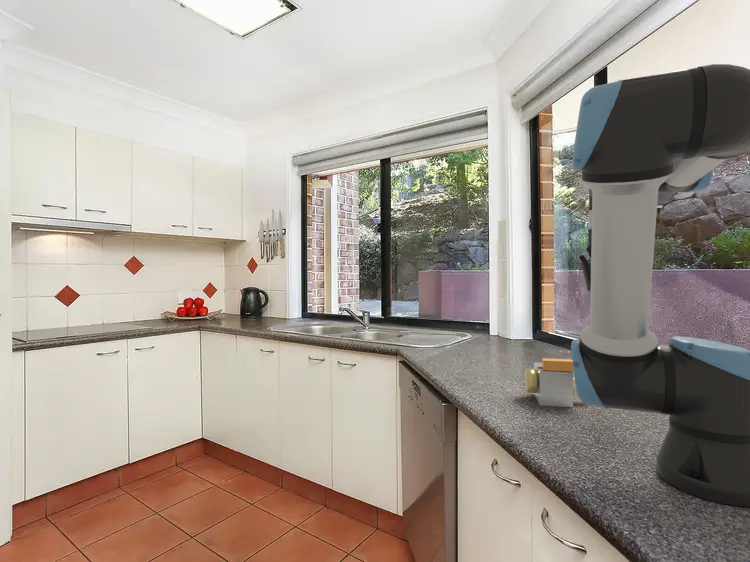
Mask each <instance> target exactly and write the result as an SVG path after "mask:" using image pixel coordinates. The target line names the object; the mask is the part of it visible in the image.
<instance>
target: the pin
mask: <svg viewBox="0 0 750 562" xmlns="http://www.w3.org/2000/svg"><path fill="white" fill-rule="evenodd" d="M524 387H525V393H527V394H534V393H537V388H538V376H537V372H536V369H534V368H525V370H524ZM574 389H575V390H576V385H575V379H574V377H573V390H574Z"/></svg>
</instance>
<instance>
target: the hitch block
mask: <svg viewBox="0 0 750 562" xmlns="http://www.w3.org/2000/svg"><path fill="white" fill-rule="evenodd" d="M533 369H536V372H537V376H538V388H537V393H533V395H534V398H535V399H536V401H537V403H538V404H539V406H545V407H559V408H560V407H564V408H574V389H573V373H574V372H572V371H550V370H543V368H542V362H537V361H536V362H533Z"/></svg>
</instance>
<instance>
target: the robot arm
mask: <svg viewBox="0 0 750 562" xmlns="http://www.w3.org/2000/svg"><path fill="white" fill-rule="evenodd" d="M574 137H575V139H574V145H573V146H574V148H573V155H572V161H571V169H572V170H573V171H576V172H581V182H582V183H583V184H584V185H585V186H586V187H587V188H588V226H589V230H588V240H587V241H588V246H587V248H586V250H585V252H583V253H581V254H578V255H577V256H576V259H577V261H578V262H579V264H580V265H581V269H582V273H583V277H584V280H585V285H586V288H587V291H588V292H590V293H589V294H590V302H589V303H590V304H589V312H590V313H589V324H588V325H587V326H585V327H584V328H582V330H581V331H580V334H579V335H580V336H579V338H578V339H573V340H572V341H571V347H570V348H571V350H570V353H571V359H572V361H573V373H574V379H575V385H576V389H575V390H576V394H577V396H578V399H579V400H580V401H581V402H582V403H584V404H586V405H589V406H596V407H602V408H604V409H610V408H611V409H619V410H625V411H626V410H627V411H633V412H634V411H635V412H644V413H653V414H661V415H668V429H667V431H666V433H665V436H664V437H663V440H662V442H661V445H660V446H659V449H658V451H657V454H656V457H655V458H656V459H655V460H656V463H655V465H656V467H655V468H656V472H657V474H658V475H659V477H660V478H662V479H663V480H664V481H665V482H667V483H668V484H670V485H671V486H673V487H675V488H677V489H679V490H681V491H682V492H685V493H688V494H690V495H692V496H696V497H698V498H701V499H705V500H709V501H712V502H715V503H719V504H723V505H730V506H735V507H742V508H743V507H745V508H747V507H748V508H750V350H749V349H747V348H744V347H742V346H737V345H735V344H734V345H733V344H728V343H724V342H721V341H720V342H719V341H716V340H712V339H711V340H710V339H704V338H698V337H689V336H679V335H677V336H676V335H675V336H671V337H670V338H669V340H668V344H659V339H658V337H657V335H656V334H655V333H654V332H652V331H651V330H650V329H649V322H650V321H649V320H650V307H651V293H652V281H653V280H652V279H653V267H654V254H655V253H654V252H655V241H656V240H655V238H656V226H657V212H658V199H659V194H671V193H672V194H673V193H691V192H696V191H697V192H698V191H704V190H706V189H707V188H708V187H709V186H710V184H711V181H712V179H713V173H714V169H715V168H717V167H718V166H719V165H720V164H722V163H723V162H724V161H726V160H729V159H733V158H737V157H740V156H743V155H744V154H747V153H748V152H749V151H750V68H747V67H744V66H740V65H734V64H729V63H728V64H724V63H722V64H720V63H719V64H717V63H716V64H715V63H711V64H708V65H707V64H706V65H702V66H697V67H693V68H692V67H691V68H687V69H681V70H675V71H670V72H669V71H668V72H664V73H663V72H662V73H658V74H653V75H647V76H639V77H634V78H627V79H618V80H616V81H615V80H614V81H613V82H612V81H611V82H608V83H605V84H600V85H596V86H593V87H591V88H589V89H588V90H587V91H586V92H584V94H583V95H582V98H581V100H580V106H579V112H578V120H577V124H576V131H575V136H574ZM589 259H590V262H589Z"/></svg>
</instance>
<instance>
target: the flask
mask: <svg viewBox="0 0 750 562" xmlns="http://www.w3.org/2000/svg"><path fill="white" fill-rule="evenodd" d="M570 354H571V350H570V351H569V350H559V359H570ZM572 372H573V371H572ZM573 377H574V372H573Z"/></svg>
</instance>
